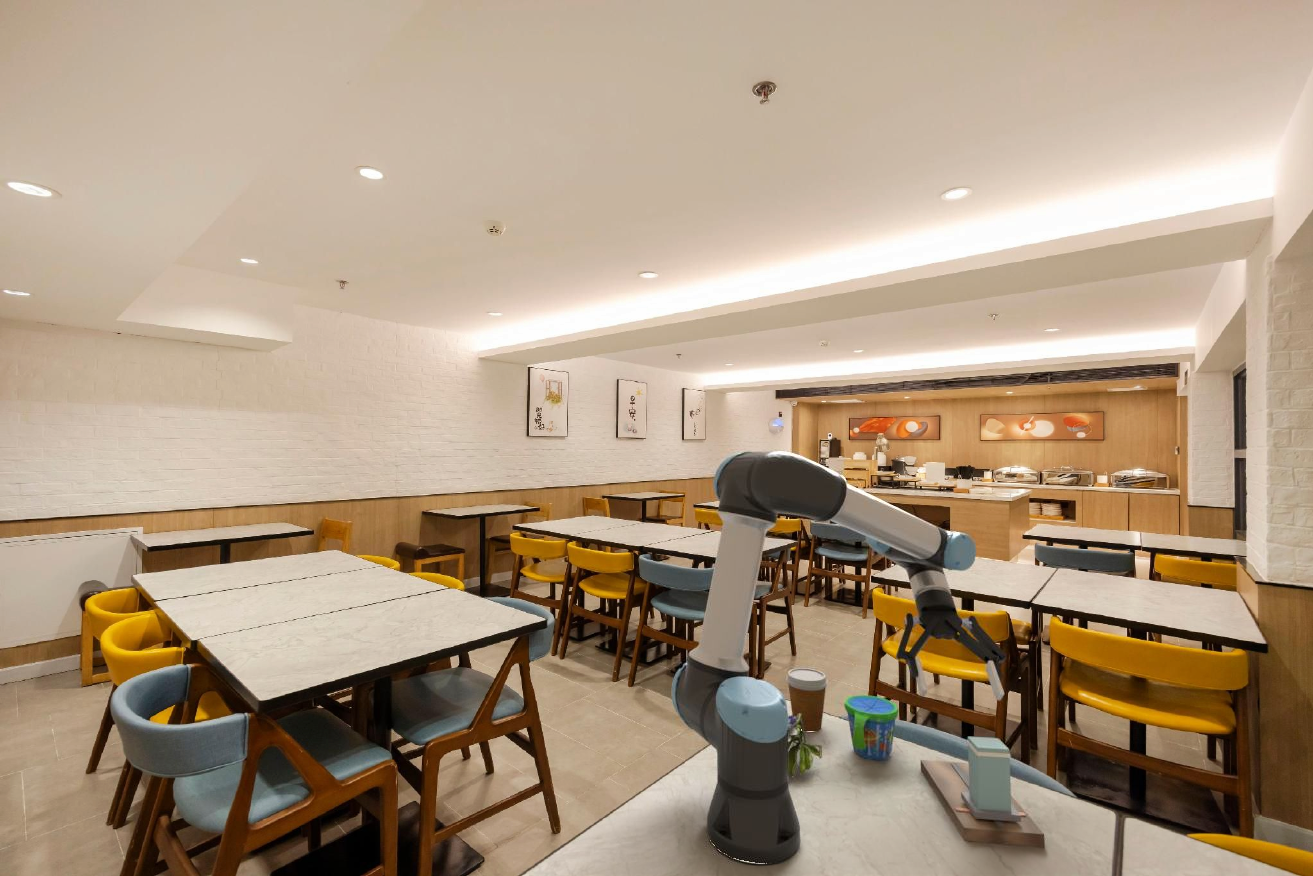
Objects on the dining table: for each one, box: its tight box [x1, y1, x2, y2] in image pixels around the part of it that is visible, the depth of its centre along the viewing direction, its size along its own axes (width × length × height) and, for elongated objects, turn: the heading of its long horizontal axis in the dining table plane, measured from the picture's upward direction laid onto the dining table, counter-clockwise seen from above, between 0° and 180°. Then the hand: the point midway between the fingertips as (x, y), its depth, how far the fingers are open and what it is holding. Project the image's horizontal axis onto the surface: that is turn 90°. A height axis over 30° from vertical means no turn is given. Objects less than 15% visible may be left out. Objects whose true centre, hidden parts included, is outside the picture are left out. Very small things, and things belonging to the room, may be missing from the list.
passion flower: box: [788, 714, 823, 778], centre depth 117 cm, size 11×11×12 cm
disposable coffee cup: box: [785, 667, 829, 732], centre depth 134 cm, size 10×10×12 cm
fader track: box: [920, 759, 1046, 848], centre depth 103 cm, size 12×22×2 cm, turn 172°
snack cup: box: [844, 694, 899, 761], centre depth 122 cm, size 16×10×10 cm
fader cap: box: [961, 736, 1021, 822], centre depth 97 cm, size 7×6×11 cm
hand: (961, 695), depth 108 cm, fingers open, 13 cm apart
